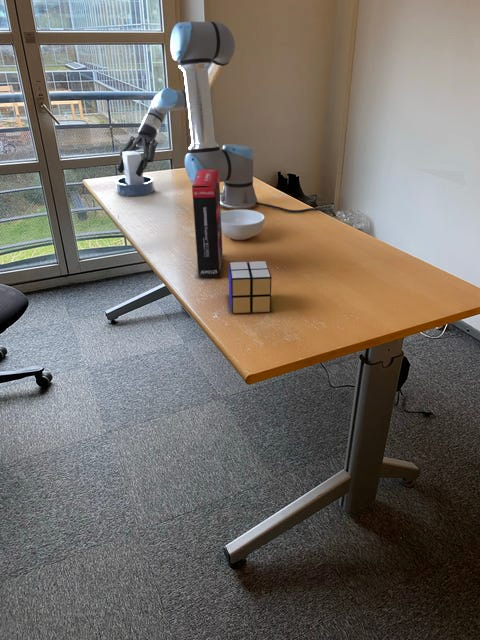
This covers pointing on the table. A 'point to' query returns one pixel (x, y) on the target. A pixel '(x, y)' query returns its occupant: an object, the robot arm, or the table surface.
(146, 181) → the bowl
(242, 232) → the cereal bowl
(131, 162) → the small box
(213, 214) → the graphics card box
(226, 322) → the table surface
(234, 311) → the puzzle cube
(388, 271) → the table surface
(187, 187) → the table surface
